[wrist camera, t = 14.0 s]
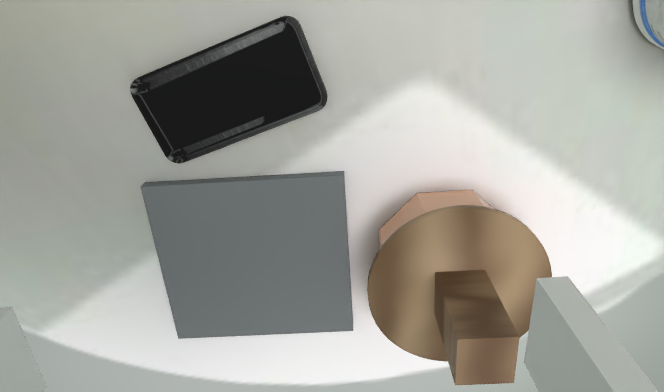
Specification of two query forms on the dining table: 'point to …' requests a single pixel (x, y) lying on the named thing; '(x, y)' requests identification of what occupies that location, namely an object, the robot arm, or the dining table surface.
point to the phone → (231, 90)
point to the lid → (459, 289)
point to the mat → (253, 253)
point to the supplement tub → (650, 19)
